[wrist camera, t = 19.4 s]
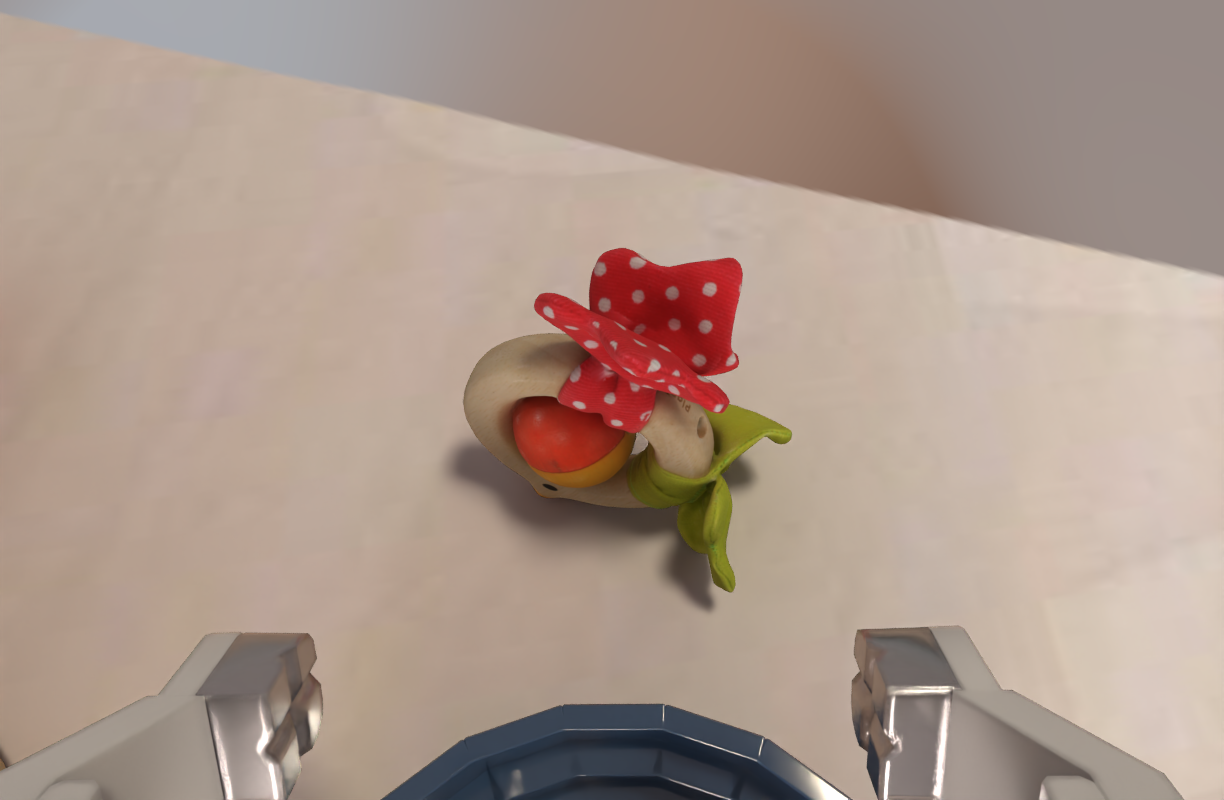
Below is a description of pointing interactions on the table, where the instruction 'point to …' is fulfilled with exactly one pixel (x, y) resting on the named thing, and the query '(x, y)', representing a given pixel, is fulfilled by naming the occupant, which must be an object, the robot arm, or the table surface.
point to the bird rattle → (627, 397)
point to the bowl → (616, 760)
